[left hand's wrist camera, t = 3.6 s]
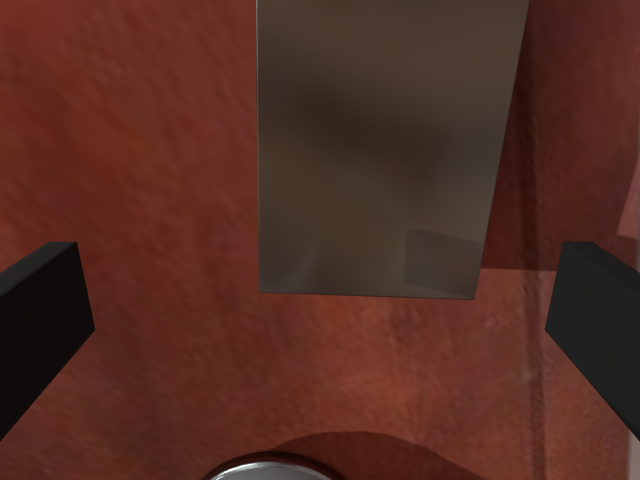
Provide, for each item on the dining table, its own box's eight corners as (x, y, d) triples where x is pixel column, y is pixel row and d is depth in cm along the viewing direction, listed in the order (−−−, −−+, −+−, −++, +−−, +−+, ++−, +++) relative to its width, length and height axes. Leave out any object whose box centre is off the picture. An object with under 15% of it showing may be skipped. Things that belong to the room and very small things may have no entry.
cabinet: (277, -59, 25) (253, -129, 16) (469, -50, 25) (552, -115, 16) (276, 227, 31) (258, 293, 22) (430, 233, 31) (475, 300, 22)
